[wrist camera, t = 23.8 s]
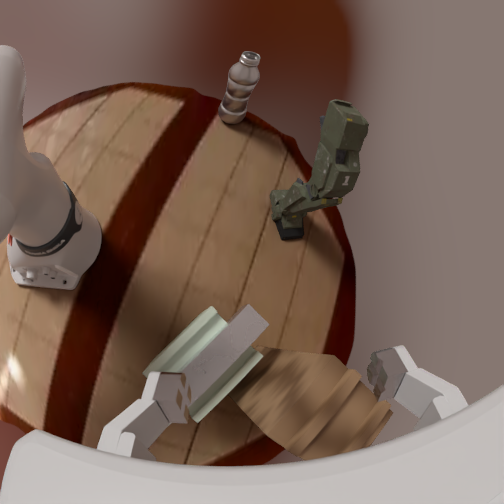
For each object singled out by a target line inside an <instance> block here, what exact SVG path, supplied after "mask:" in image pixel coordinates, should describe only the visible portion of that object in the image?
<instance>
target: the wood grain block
mask: <svg viewBox="0 0 504 504" xmlns="http://www.w3.org/2000/svg"><path fill="white" fill-rule="evenodd" d="M254 349H255V350H256V351H259V352H260V353H261V354H262V355H263V357H262V358H261V359H260V361H259V362H258V363H257V364H256V365H255V366H254V367H253V368H252V369H251V370H250V371H249V372H248V373H247V374H246V376H245V377H244V378H243V379H242V380H241V381H240V382H239V383H238V384H237V385H236V386H235V387H234V388H233V389H232V390H231V391H230V392H229V393H228V395H229V396H230V397H231V398H232V399H233V400H234V401H235V403H236V404H237V405H238V406H239V407H240V408H241V409H242V410H243V411H244V412H245V413H246V415H247V416H248V417H249V418H250V419H251V420H252V421H253V422H254V423H255V424H256V425H257V426H258V427H259V428H260V429H261V430H262V431H263V432H264V433H265V434H266V435H267V436H268V437H270V438H271V439H273V440H274V441H276V442H277V443H278V444H280V445H281V446H283V447H284V448H285V449H286V450H287V451H289V452H290V453H292V454H294V455H295V456H299V457H300V458H302V459H303V460H312V459H318V458H323V457H328V456H333V455H338V454H342V453H347V452H351V451H355V450H359V449H362V448H366V447H369V446H370V445H371V444H372V443H373V441H374V440H375V438H376V437H377V436H378V434H379V433H380V431H381V430H382V428H383V427H384V426H385V424H386V423H387V421H388V420H389V418H390V417H391V415H392V414H393V412H392V411H391V410H390V409H389V408H390V407H391V405H390V404H389V403H388V402H387V401H386V400H384V401H380V402H377V399H376V397H375V395H374V394H373V393H372V392H371V391H370V390H369V389H368V388H367V387H366V386H365V385H364V384H363V383H362V382H361V381H360V378H361V377H362V376H361V375H360V374H359V373H358V372H357V371H356V370H353V369H348V368H347V367H346V366H345V365H344V364H343V363H342V362H341V361H340V360H339V359H338V358H337V357H336V356H335V355H325V354H314V353H305V352H297V351H289V350H281V349H274V348H267V347H261V346H256V347H255V348H254Z"/></svg>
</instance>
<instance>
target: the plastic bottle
mask: <svg viewBox="0 0 504 504" xmlns="http://www.w3.org/2000/svg"><path fill="white" fill-rule="evenodd" d="M259 60H260V56H259V55H258V54H256V53H254V52H249V51H246V52H243V54H242V56H241V58H240V62H238V63H236V64H235V65H233V66H232V67H231V69H230V70H229V76H228V85H227V90H226V94H225V96H224V99H223V101H222V103H221V104H220V106H219V117H220V118H221V119H222V120H223V121H224V122H226V123H228V124H237V123H239V122H241V121H242V120H243V119H244V117H245V115H246V107H247V103H248V99H249V97H250V94H251V92H252V90H253V88H254V87H255V85H256V84H257V82H258V80H259V71H258V68H257V66H258V64H259Z"/></svg>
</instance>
